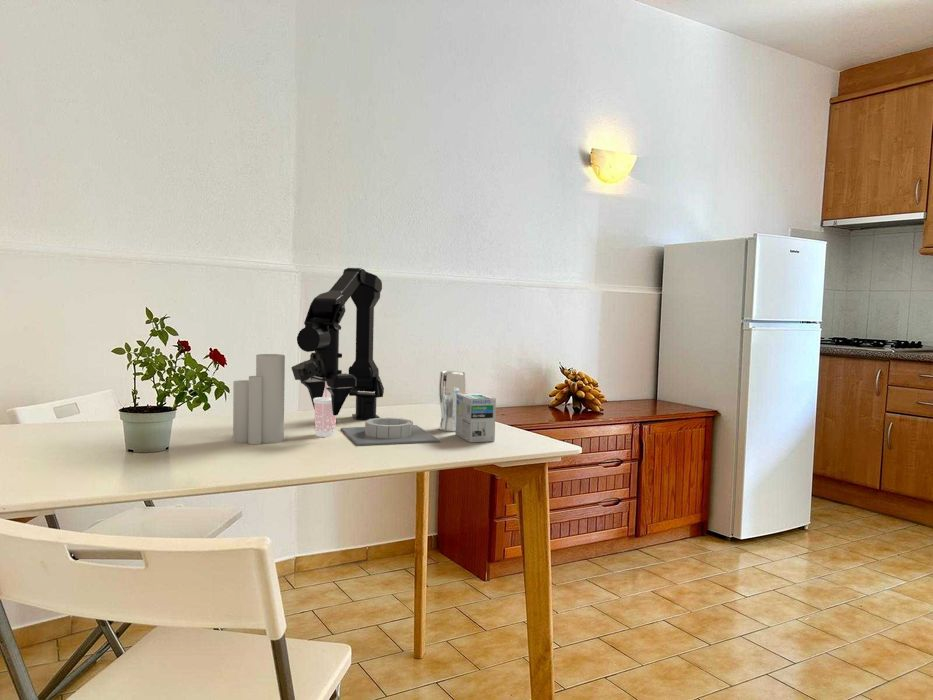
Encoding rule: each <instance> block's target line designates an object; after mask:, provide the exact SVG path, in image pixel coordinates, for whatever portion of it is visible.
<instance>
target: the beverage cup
mask: <svg viewBox="0 0 933 700" xmlns="http://www.w3.org/2000/svg"><path fill="white" fill-rule="evenodd" d="M326 388H328V385H327V383H326V381H325V389H324V396H323V397H317V398H314V399H313V402H314V407H315V410H314V423H315V424H314V425H315V427H314V429H315V436H316V437H323V438H328V437H329V438H330V437H335V435H336V424H337V415H333V411H332V400H331V396H328V390H327V389H326ZM314 407H313V408H314Z"/></svg>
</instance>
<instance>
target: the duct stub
mask: <svg viewBox="0 0 933 700" xmlns="http://www.w3.org/2000/svg"><path fill="white" fill-rule="evenodd" d="M340 430H341V431H342V432H343V434H345V435H346V436H347V437H348V438H349V439H350V440H351V442H353V443H354V444H355V445H356V446H357V447H358V446H362V447H363V446H380V445H381V446H382V445H383V446H385V445H387V446H388V445H405V444H406V445H407V444H425V443H426V444H427V443H428V444H429V443H430V444H431V443H440V442H441V439H439V438H438V437H436V436H435V435H433V434H431V433H429V432H428V431H426V430H424V429H423V428H421V427H420V426H418V425H416V424H414V422H413V421H412V420H411V419H407V418H403V417H402V418H401V417H380V418H374V419H366V420H365V422H364V426H356V427H355V426H353V427H352V426H351V427H349V426H348V427H340Z"/></svg>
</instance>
